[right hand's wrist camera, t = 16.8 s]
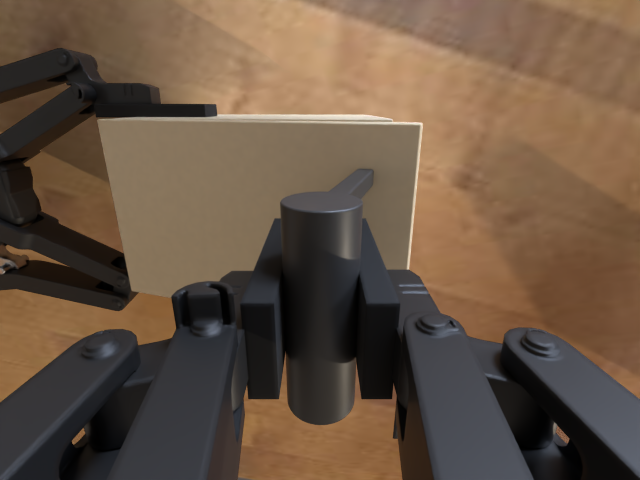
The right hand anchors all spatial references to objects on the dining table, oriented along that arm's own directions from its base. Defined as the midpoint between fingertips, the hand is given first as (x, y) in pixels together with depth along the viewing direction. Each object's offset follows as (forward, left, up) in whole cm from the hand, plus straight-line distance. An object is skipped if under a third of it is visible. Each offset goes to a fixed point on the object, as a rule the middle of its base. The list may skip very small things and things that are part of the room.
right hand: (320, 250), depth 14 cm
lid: (+2, -3, -4) cm, 5 cm away
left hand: (+4, -6, -11) cm, 13 cm away
